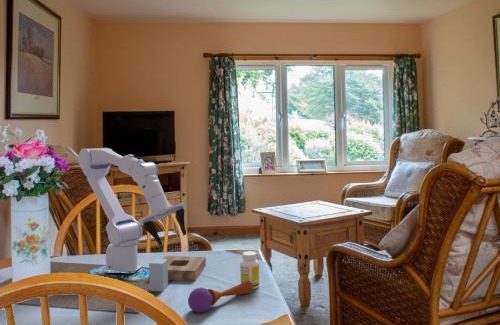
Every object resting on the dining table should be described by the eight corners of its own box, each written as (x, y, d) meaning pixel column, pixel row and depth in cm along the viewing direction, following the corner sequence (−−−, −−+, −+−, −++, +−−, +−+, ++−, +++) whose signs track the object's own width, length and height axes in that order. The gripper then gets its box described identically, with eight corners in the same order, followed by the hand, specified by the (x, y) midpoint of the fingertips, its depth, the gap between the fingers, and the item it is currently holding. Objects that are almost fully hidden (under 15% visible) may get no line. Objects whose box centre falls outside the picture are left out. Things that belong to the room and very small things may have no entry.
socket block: (151, 279, 122) (150, 269, 121) (165, 264, 135) (165, 255, 135) (195, 280, 120) (195, 270, 120) (205, 265, 134) (205, 256, 134)
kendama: (258, 281, 108) (199, 297, 94) (254, 301, 109) (195, 320, 95) (243, 272, 113) (185, 286, 99) (240, 291, 113) (181, 308, 99)
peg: (149, 290, 112) (149, 263, 112) (154, 285, 116) (154, 259, 116) (163, 291, 112) (162, 263, 111) (167, 286, 116) (167, 259, 115)
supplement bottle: (258, 282, 118) (258, 250, 117) (259, 289, 112) (259, 255, 112) (240, 283, 118) (240, 250, 117) (240, 290, 112) (240, 256, 112)
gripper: (132, 203, 113) (150, 247, 110) (179, 186, 119) (197, 227, 116) (132, 209, 120) (148, 251, 116) (177, 193, 125) (193, 232, 122)
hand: (173, 239), depth 117 cm, fingers open, 7 cm apart
